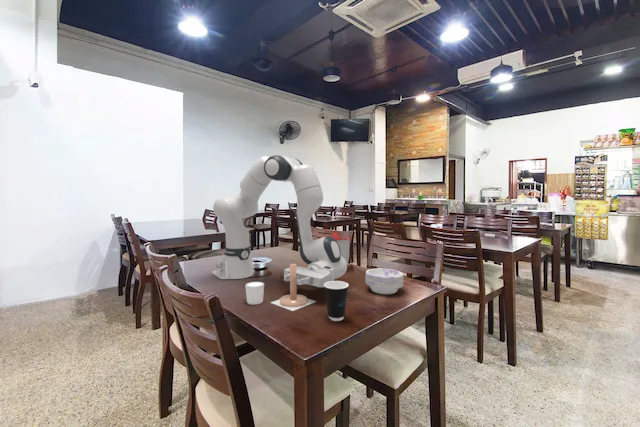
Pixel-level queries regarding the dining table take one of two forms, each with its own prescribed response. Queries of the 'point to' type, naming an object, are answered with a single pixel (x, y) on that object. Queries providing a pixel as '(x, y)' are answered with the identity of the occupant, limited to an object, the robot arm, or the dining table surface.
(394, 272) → the paper bowls
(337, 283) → the dixie cup
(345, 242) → the citrus juicer
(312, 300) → the mat
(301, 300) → the peg on round base
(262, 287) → the white round tub
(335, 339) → the dining table surface
